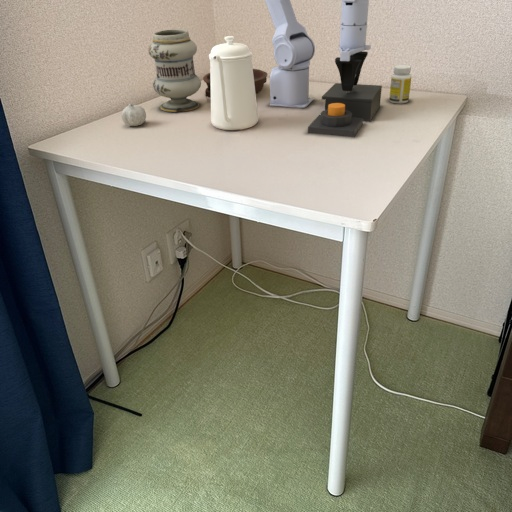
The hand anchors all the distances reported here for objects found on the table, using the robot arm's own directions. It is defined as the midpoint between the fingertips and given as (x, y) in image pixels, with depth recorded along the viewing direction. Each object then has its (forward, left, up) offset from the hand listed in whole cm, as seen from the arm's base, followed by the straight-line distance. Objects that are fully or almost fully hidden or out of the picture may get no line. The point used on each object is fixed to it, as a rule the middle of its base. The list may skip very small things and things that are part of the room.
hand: (349, 87), depth 114 cm
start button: (0, -13, -3) cm, 13 cm away
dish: (-34, +10, -6) cm, 36 cm away
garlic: (-46, -22, -6) cm, 51 cm away
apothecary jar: (-43, -6, -6) cm, 44 cm away
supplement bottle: (+10, +12, -6) cm, 17 cm away
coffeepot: (-23, -16, -6) cm, 29 cm away
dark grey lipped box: (+1, 0, -6) cm, 6 cm away
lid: (+1, 0, -1) cm, 2 cm away
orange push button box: (0, -13, -6) cm, 14 cm away
